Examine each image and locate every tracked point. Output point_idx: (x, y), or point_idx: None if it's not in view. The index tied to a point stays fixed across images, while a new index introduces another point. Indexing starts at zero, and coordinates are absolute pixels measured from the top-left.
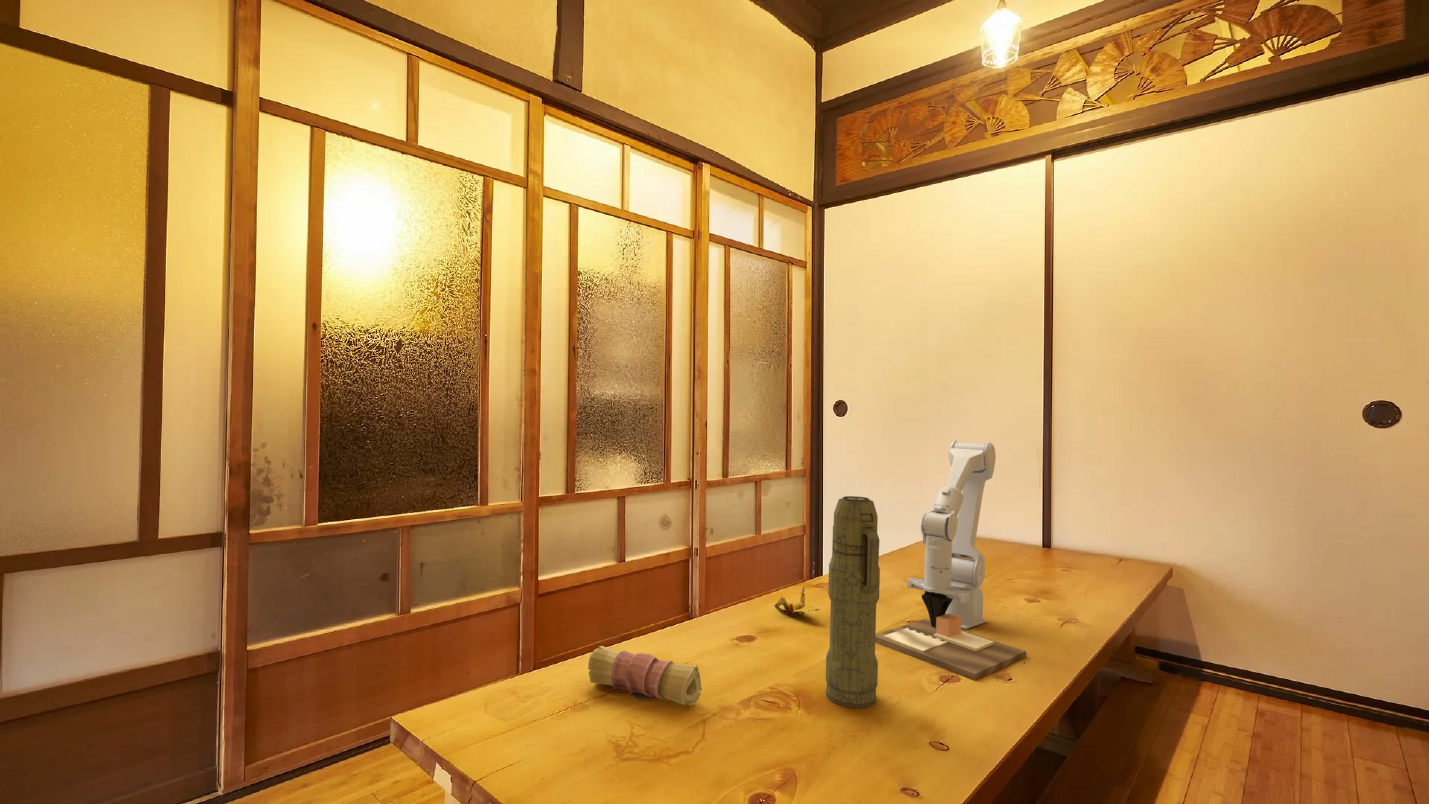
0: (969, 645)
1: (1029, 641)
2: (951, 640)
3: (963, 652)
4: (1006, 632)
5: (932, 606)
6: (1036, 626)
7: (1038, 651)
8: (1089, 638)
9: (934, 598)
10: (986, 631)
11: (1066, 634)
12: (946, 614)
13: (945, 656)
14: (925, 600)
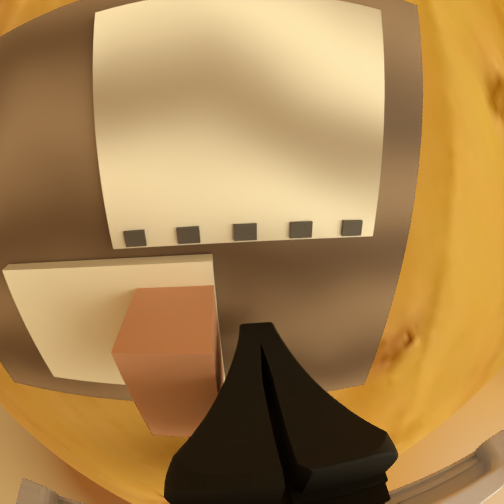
0: (28, 277)
1: (107, 444)
2: (98, 265)
3: (13, 209)
4: (171, 455)
5: (268, 417)
6: None
7: (51, 412)
8: (101, 481)
9: (232, 489)
10: None
11: (125, 481)
12: None
13: (13, 87)
14: (343, 433)
